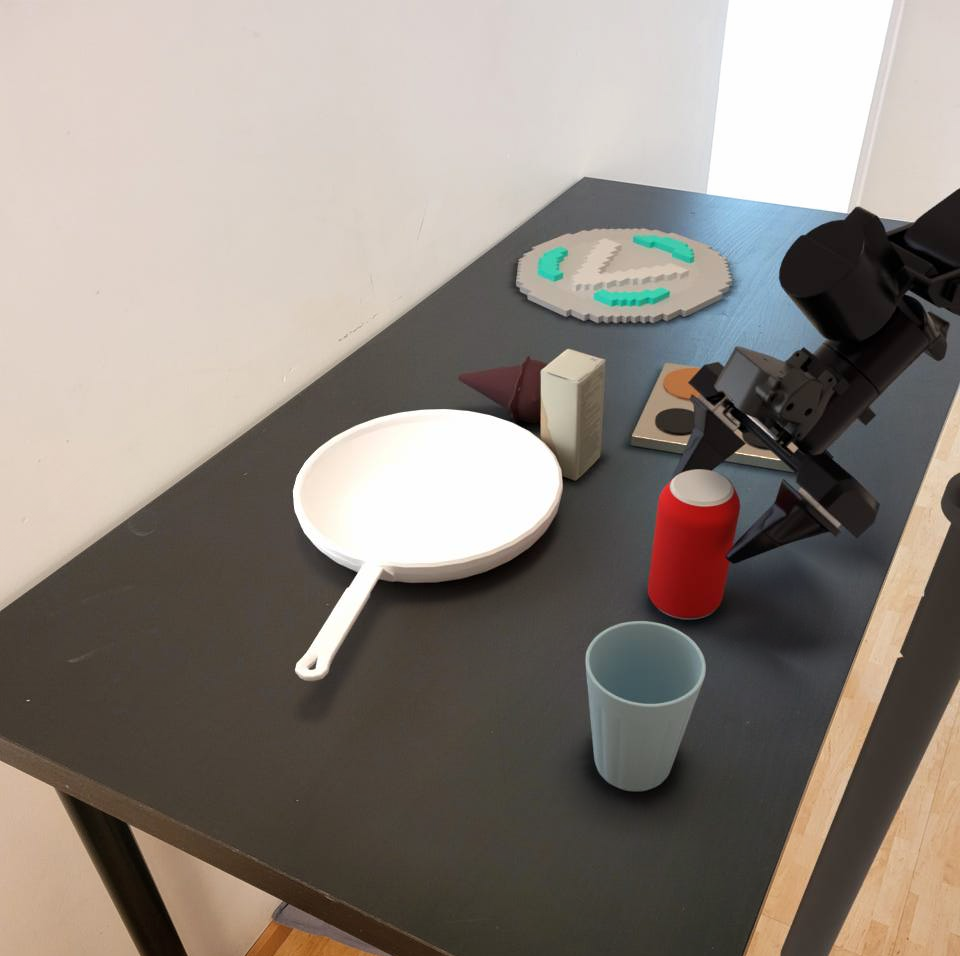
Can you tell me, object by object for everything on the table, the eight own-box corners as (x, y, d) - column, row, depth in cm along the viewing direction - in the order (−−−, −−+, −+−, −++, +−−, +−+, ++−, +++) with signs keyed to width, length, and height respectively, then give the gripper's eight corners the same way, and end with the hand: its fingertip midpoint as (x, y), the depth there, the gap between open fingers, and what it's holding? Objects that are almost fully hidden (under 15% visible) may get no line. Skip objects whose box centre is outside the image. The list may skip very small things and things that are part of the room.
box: (566, 445, 97) (569, 345, 89) (602, 457, 95) (608, 357, 87) (538, 469, 94) (539, 369, 86) (574, 483, 92) (579, 381, 84)
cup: (706, 752, 68) (727, 651, 61) (652, 823, 64) (667, 725, 56) (617, 706, 71) (626, 605, 64) (560, 771, 67) (563, 671, 60)
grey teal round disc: (475, 275, 128) (475, 263, 126) (618, 218, 140) (618, 207, 139) (627, 345, 112) (628, 332, 111) (772, 274, 124) (774, 262, 123)
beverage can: (732, 619, 78) (757, 502, 69) (661, 632, 77) (677, 515, 68) (704, 573, 82) (724, 457, 74) (636, 585, 81) (649, 469, 73)
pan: (588, 460, 95) (590, 423, 92) (469, 750, 69) (466, 712, 66) (361, 427, 101) (356, 391, 98) (172, 682, 75) (157, 644, 72)
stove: (827, 395, 102) (829, 383, 101) (810, 475, 92) (813, 463, 91) (664, 371, 107) (665, 360, 106) (630, 445, 97) (631, 434, 96)
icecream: (445, 376, 95) (588, 405, 93) (467, 327, 99) (605, 354, 96) (449, 424, 101) (583, 452, 99) (469, 376, 105) (600, 402, 102)
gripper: (727, 259, 70) (585, 420, 75) (889, 373, 57) (705, 557, 62) (796, 338, 77) (662, 480, 82) (953, 454, 64) (783, 613, 70)
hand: (698, 526), depth 74 cm, fingers open, 9 cm apart
